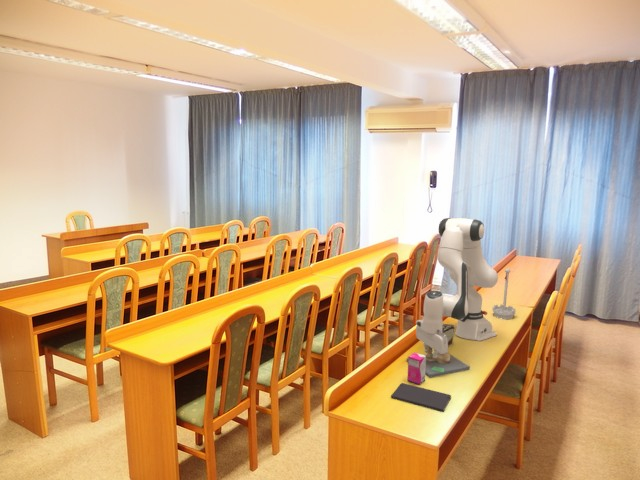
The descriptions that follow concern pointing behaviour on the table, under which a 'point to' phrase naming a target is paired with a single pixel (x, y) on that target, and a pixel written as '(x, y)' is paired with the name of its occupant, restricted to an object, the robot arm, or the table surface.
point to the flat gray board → (444, 367)
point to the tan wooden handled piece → (438, 356)
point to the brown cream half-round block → (448, 332)
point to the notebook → (421, 397)
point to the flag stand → (504, 303)
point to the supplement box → (416, 368)
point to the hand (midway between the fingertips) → (430, 354)
